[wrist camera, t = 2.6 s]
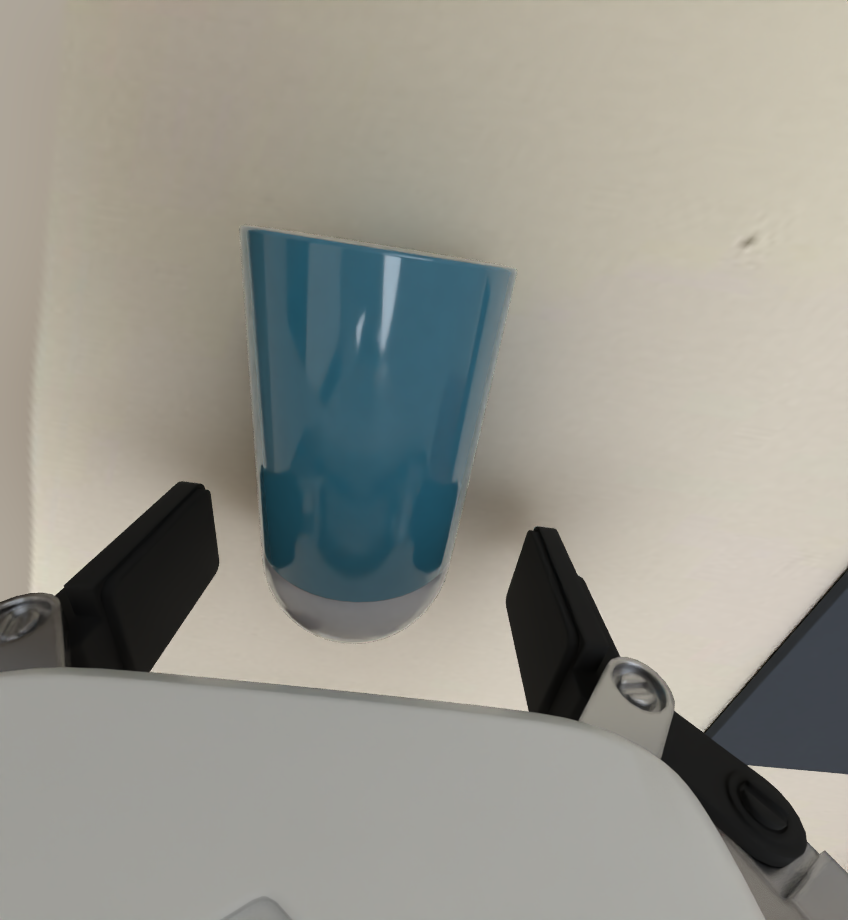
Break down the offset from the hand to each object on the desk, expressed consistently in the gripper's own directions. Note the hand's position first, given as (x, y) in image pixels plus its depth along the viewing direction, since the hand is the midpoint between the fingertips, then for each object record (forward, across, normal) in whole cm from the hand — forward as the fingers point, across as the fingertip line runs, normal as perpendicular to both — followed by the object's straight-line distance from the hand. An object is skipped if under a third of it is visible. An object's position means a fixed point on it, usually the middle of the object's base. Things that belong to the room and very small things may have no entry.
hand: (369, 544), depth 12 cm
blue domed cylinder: (0, 0, -2) cm, 2 cm away
